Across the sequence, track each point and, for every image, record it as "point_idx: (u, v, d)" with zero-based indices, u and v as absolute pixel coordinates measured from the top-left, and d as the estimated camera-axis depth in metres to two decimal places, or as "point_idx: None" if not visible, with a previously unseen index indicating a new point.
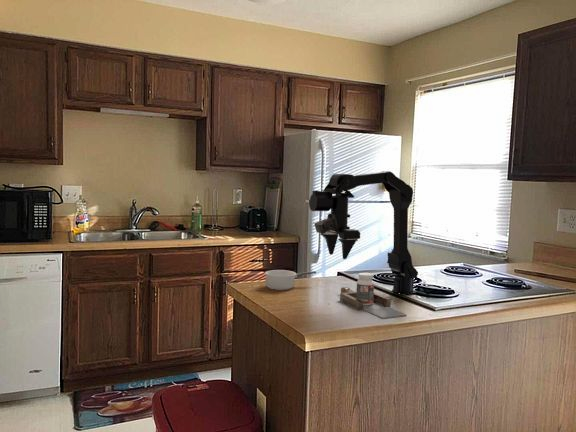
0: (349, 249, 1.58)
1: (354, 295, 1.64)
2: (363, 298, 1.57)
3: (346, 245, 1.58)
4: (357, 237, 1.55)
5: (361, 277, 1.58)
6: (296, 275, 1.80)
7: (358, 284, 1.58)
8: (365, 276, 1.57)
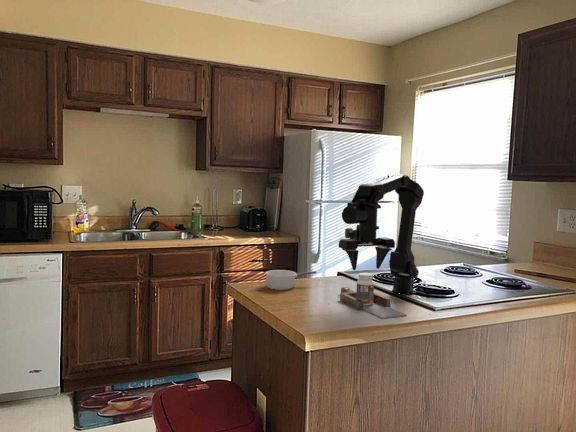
0: (353, 260, 1.56)
1: (354, 295, 1.64)
2: (363, 298, 1.57)
3: (351, 256, 1.57)
4: (345, 247, 1.53)
5: (361, 277, 1.58)
6: (296, 275, 1.80)
7: (358, 284, 1.58)
8: (365, 276, 1.57)
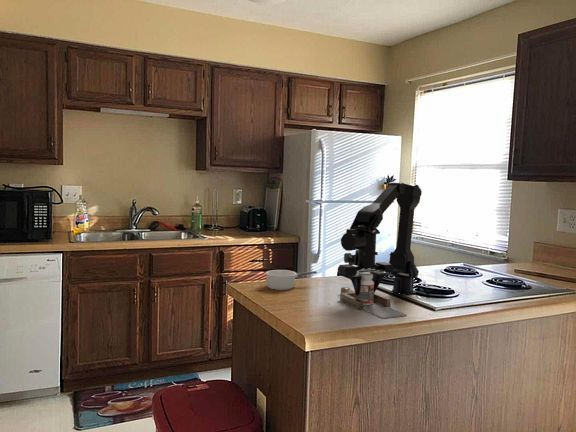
0: (356, 286, 1.57)
1: (354, 295, 1.64)
2: (363, 298, 1.57)
3: (354, 281, 1.58)
4: (344, 274, 1.54)
5: (361, 277, 1.58)
6: (297, 275, 1.80)
7: None
8: (365, 276, 1.57)
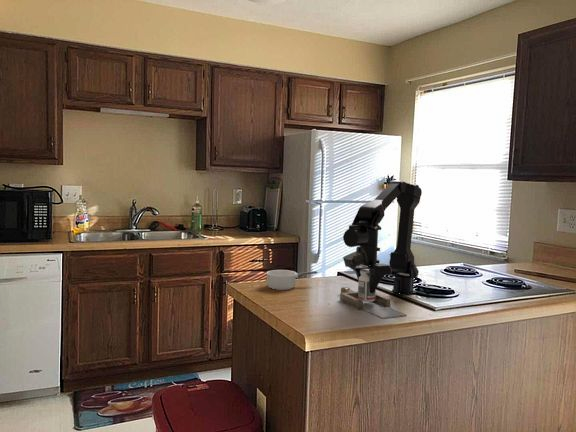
0: (377, 283, 1.55)
1: (354, 295, 1.64)
2: (375, 293, 1.58)
3: (374, 279, 1.55)
4: (388, 273, 1.50)
5: None
6: (297, 275, 1.80)
7: None
8: None
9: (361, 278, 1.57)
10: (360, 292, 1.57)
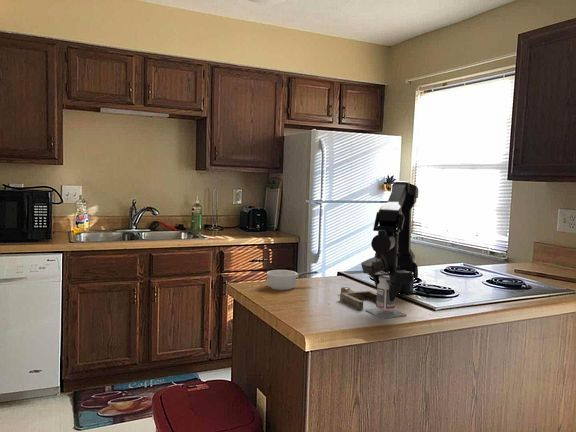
0: (397, 291, 1.45)
1: (354, 295, 1.64)
2: None
3: (394, 287, 1.45)
4: (410, 280, 1.41)
5: None
6: (297, 275, 1.80)
7: None
8: None
9: (380, 285, 1.47)
10: (379, 300, 1.47)
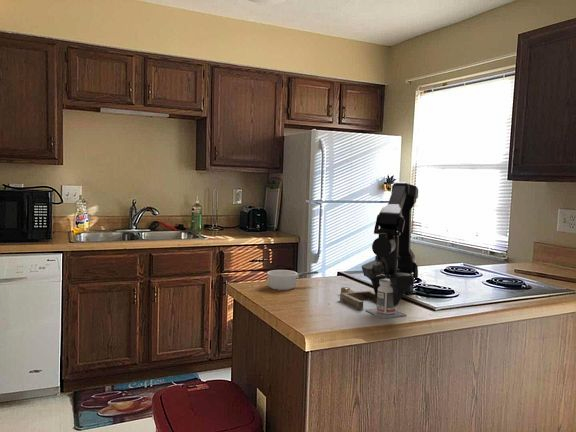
0: (401, 295, 1.44)
1: (354, 295, 1.64)
2: None
3: (398, 291, 1.43)
4: (411, 283, 1.40)
5: None
6: (298, 275, 1.80)
7: (392, 292, 1.46)
8: None
9: (380, 289, 1.47)
10: (379, 303, 1.47)
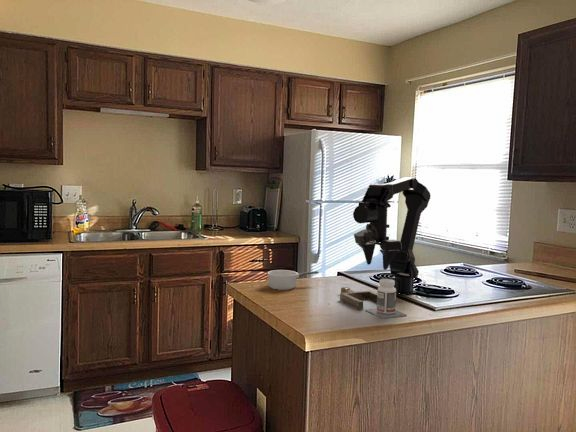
0: (390, 260, 1.58)
1: (354, 295, 1.64)
2: (395, 305, 1.48)
3: (387, 256, 1.57)
4: (399, 248, 1.54)
5: (393, 284, 1.47)
6: (298, 275, 1.80)
7: (392, 293, 1.46)
8: (394, 282, 1.48)
9: (380, 289, 1.47)
10: (379, 303, 1.47)
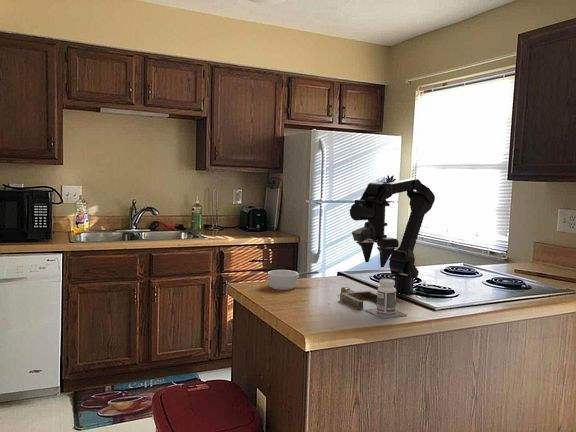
0: (387, 257, 1.60)
1: (354, 295, 1.64)
2: (395, 305, 1.48)
3: (384, 253, 1.59)
4: (396, 246, 1.57)
5: (393, 284, 1.47)
6: (298, 275, 1.80)
7: (392, 293, 1.46)
8: (394, 282, 1.48)
9: (380, 289, 1.47)
10: (379, 303, 1.47)
